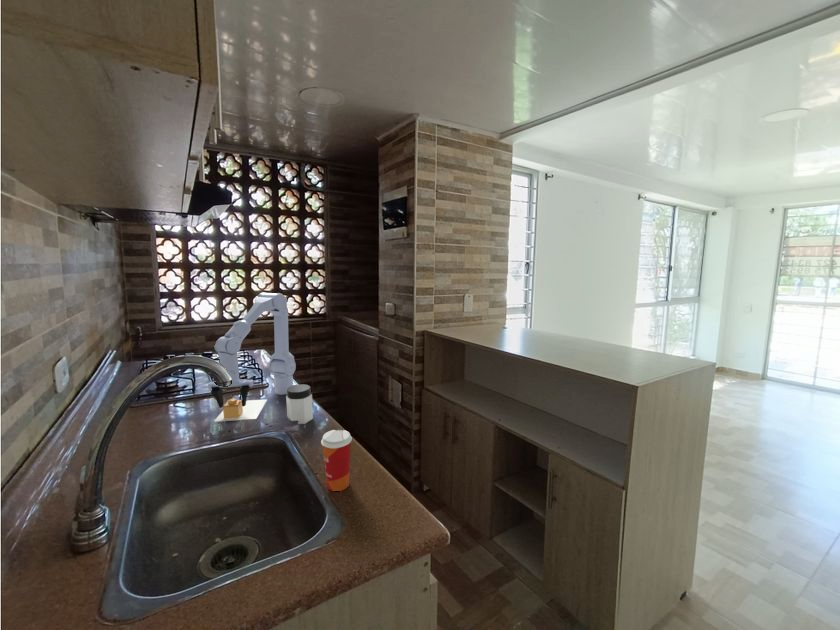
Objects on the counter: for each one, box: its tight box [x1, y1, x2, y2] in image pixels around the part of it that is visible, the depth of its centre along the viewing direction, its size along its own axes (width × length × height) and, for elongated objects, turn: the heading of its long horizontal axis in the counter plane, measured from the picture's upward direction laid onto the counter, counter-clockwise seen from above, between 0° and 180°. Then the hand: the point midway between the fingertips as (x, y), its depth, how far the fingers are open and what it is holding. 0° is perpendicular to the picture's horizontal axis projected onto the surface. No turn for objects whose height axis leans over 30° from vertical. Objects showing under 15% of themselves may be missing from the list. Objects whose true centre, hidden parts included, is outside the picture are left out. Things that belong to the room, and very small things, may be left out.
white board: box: [213, 399, 268, 423], centre depth 141 cm, size 18×14×2 cm
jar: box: [285, 383, 314, 425], centre depth 135 cm, size 9×8×12 cm
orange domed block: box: [222, 398, 243, 418], centre depth 136 cm, size 5×5×6 cm
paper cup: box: [320, 429, 353, 492], centre depth 97 cm, size 8×8×14 cm
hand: (232, 406), depth 136 cm, fingers open, 7 cm apart
